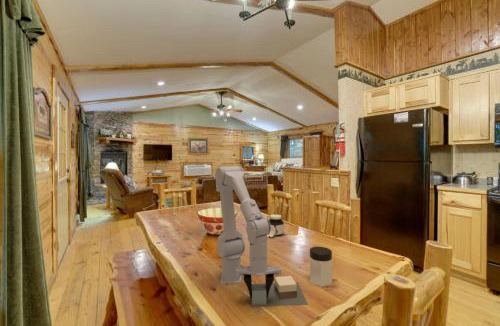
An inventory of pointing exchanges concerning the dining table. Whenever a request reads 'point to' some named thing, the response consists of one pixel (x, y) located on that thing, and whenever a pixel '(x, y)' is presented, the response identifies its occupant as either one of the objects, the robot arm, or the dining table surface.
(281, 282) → the cream slab
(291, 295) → the walnut slab
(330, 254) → the jar
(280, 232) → the spread jar
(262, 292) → the gray cube
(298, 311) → the dining table surface
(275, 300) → the felt mat
